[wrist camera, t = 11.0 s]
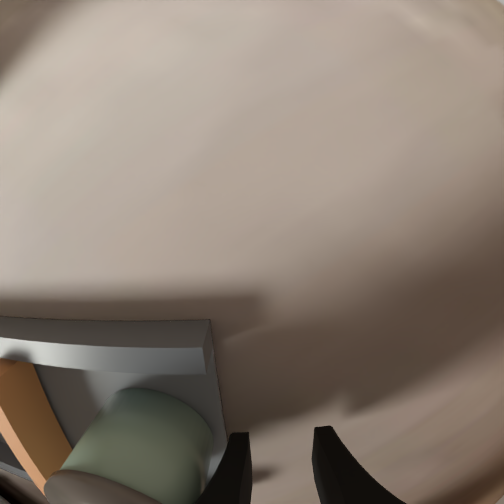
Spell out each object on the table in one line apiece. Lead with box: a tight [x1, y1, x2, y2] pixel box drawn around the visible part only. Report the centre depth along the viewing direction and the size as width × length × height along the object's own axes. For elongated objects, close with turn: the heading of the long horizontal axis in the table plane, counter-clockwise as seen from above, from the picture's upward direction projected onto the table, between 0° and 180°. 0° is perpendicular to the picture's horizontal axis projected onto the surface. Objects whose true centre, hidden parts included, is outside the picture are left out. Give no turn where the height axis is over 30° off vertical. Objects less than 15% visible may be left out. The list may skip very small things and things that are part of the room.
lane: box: [0, 316, 228, 488], centre depth 11 cm, size 22×10×3 cm, turn 94°
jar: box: [44, 388, 214, 504], centre depth 9 cm, size 6×6×6 cm
